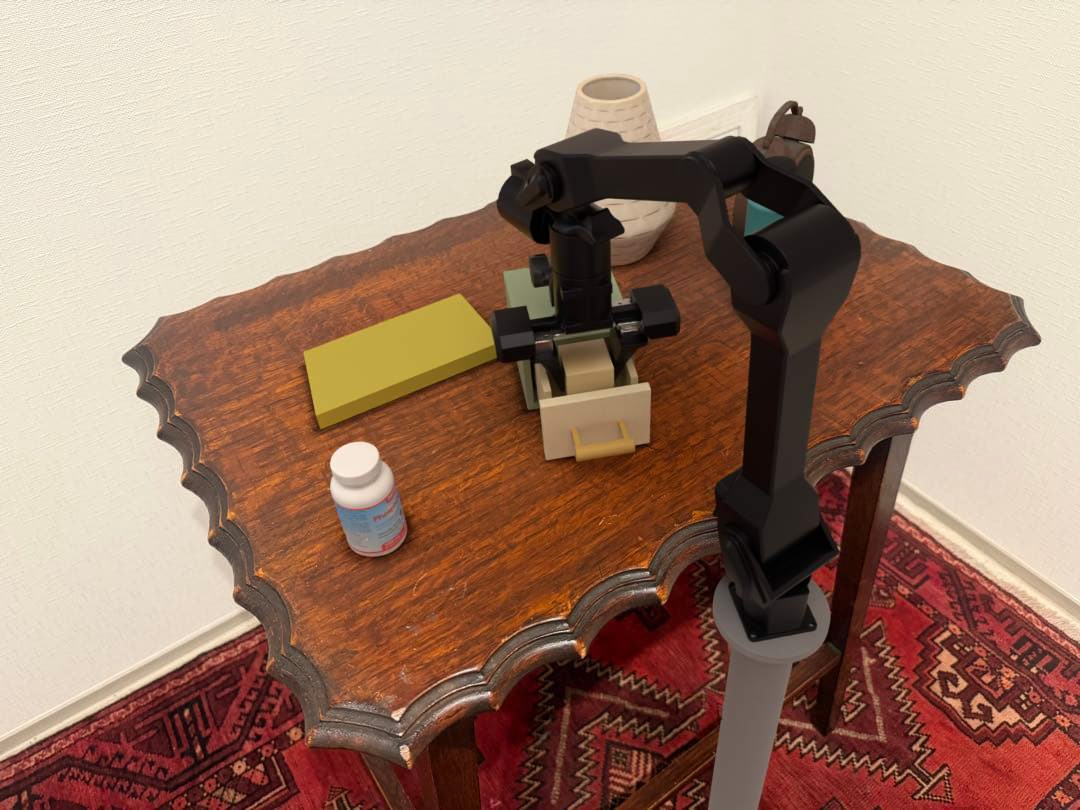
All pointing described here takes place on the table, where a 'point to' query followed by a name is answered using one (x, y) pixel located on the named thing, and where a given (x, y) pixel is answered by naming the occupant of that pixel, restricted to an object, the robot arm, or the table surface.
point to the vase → (631, 115)
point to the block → (586, 366)
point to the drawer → (593, 416)
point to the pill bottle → (367, 500)
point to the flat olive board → (396, 358)
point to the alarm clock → (783, 150)
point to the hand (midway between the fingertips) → (586, 384)
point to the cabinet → (539, 307)
